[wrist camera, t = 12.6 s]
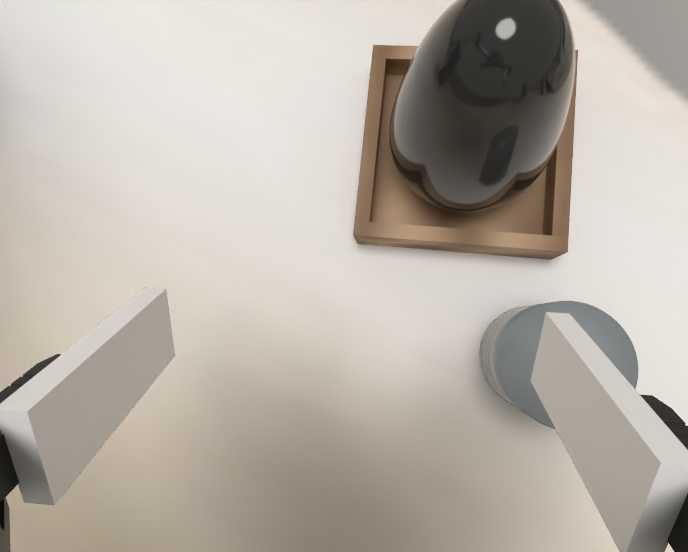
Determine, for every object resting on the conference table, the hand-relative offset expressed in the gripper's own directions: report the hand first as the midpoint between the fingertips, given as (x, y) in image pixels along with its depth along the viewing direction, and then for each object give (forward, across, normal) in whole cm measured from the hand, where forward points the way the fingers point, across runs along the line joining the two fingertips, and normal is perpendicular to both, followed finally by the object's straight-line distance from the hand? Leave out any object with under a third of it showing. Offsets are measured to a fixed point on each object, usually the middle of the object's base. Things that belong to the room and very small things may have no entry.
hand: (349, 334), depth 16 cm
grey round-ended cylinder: (+14, +12, -9) cm, 20 cm away
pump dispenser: (+20, +7, +4) cm, 22 cm away
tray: (+21, +7, +4) cm, 22 cm away
